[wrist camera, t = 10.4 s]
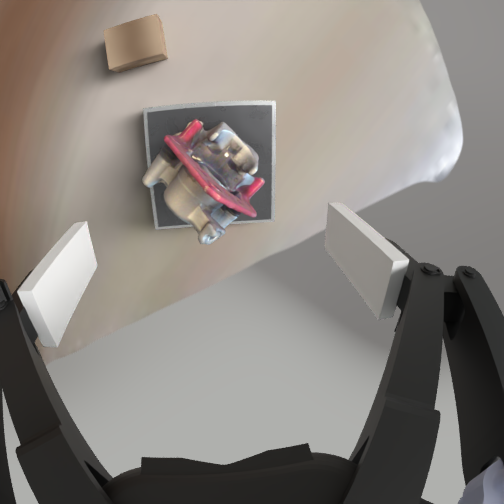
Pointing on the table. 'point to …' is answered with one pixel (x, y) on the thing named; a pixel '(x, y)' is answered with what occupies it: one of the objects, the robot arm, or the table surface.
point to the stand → (210, 114)
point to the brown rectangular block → (135, 43)
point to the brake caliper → (206, 177)
